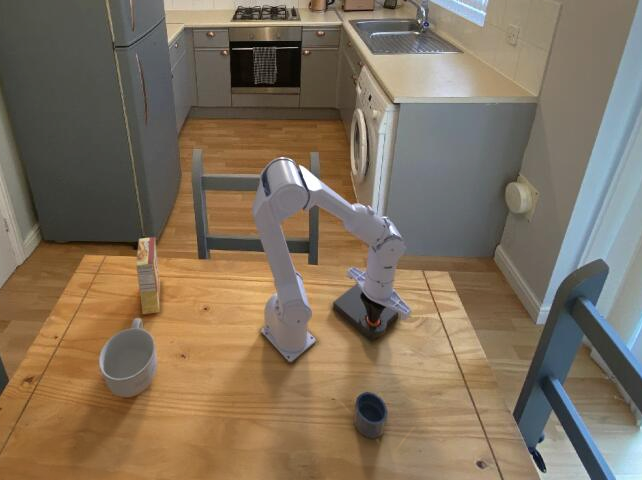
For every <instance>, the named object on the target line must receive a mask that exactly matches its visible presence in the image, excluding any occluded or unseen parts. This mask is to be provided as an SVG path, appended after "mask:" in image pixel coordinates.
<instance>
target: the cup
mask: <svg viewBox="0 0 642 480" xmlns="http://www.w3.org/2000/svg"><path fill="white" fill-rule="evenodd" d="M355 399H356V400H355V404H354V411H353V421H354V425H355V427H356V429H357V430H358V432H359V433H360V434H362V435H363V436H365V437H366V438H369V439H376V438H381V436H382V435H383V433H384V432H385V428H386V423H387V418H388V408H387V405H386V403H385V401H384V400H383V399H382V398H381V396H378V394H376V393H374V392H370V391H364V392H361V393H360V394H359V395H358V396H357V397H356V398H355Z"/></svg>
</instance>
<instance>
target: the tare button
mask: <svg viewBox="0 0 642 480" xmlns="http://www.w3.org/2000/svg"><path fill="white" fill-rule="evenodd" d="M366 322H367V324H368V325H370V326H372V327H379V325H380V319H378V320H377V321H376V322H375V323H374V324H373V323H371V322H370V321H369V320H368V316H367V320H366Z"/></svg>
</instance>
